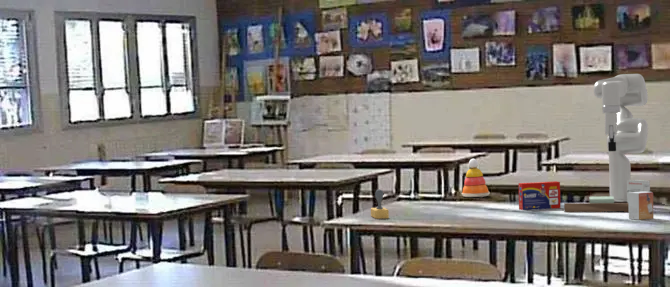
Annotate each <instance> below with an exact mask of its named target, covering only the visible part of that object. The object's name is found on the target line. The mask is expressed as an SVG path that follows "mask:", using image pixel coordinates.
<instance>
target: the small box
mask: <svg viewBox="0 0 670 287" xmlns="http://www.w3.org/2000/svg"><path fill="white" fill-rule="evenodd" d="M628 201H629V212H628V219H629V220H636V221H639V220H653V219H654V192H652V191H650V192H646V191H641V192H629V193H628Z"/></svg>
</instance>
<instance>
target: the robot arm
mask: <svg viewBox="0 0 670 287" xmlns="http://www.w3.org/2000/svg"><path fill="white" fill-rule="evenodd" d="M645 81H646V80H645V78H644V76H643V75H642V74H640V73H627V74H626V73H623V74H618V75H616V76H614V77H610V78H603V79H599V80H597V81H596V82H595V83H594V85H593V94H594V96H595V98H597V99H601V101H602V102H601V104H602V105H601V107H602V114H604V135H605V136H606V147H607V154H608V166H609V167H608V168H609V170H608V173H609V174H608V176H609V196H613V197H614V203H628V202H627V181H628V180H632V175H631V174H632V173H631V169H632V168H631V161H630V159H629V158H628V157H627V156H626V155H625V154H641V153H643V152H645V151H646V149H647V148H646V147H647V142H648V141H647V140H648V134H649V127H648V126H649V125H648V122H647V120H646V119H644V118H642V117H641V118H640V117H639V118H638V117H634V115H633V113H632V112H631V111H630V110H629V109H628V108H627V107H642V106H643V107H644V106H645V105H647V103H648V100H649V94H648V89H647V86H646V85H647V84H646V82H645ZM607 135H608V136H607Z"/></svg>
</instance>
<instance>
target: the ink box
mask: <svg viewBox="0 0 670 287" xmlns="http://www.w3.org/2000/svg"><path fill="white" fill-rule="evenodd" d="M641 191H646V192H651V181H650V180H646V179H645V180H643V179H642V180H641V179H631V180H628V181H627V202H626V203H629V201H628V193H629V192H641Z"/></svg>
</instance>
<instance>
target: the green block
mask: <svg viewBox="0 0 670 287" xmlns="http://www.w3.org/2000/svg"><path fill="white" fill-rule="evenodd" d="M588 198H589V203H615V202H614V197H613V196H610V195H608V196H607V195H605V196H589V197H588Z"/></svg>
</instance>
